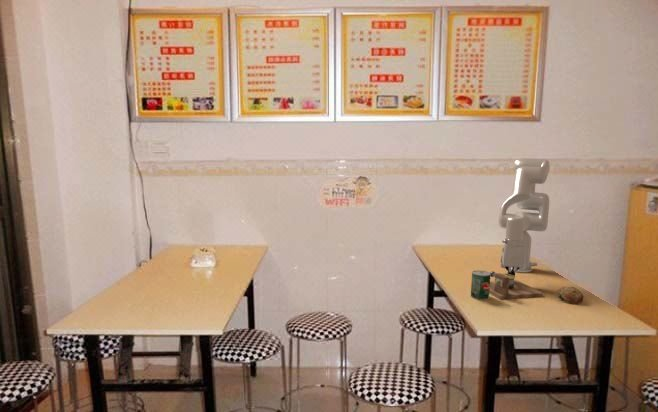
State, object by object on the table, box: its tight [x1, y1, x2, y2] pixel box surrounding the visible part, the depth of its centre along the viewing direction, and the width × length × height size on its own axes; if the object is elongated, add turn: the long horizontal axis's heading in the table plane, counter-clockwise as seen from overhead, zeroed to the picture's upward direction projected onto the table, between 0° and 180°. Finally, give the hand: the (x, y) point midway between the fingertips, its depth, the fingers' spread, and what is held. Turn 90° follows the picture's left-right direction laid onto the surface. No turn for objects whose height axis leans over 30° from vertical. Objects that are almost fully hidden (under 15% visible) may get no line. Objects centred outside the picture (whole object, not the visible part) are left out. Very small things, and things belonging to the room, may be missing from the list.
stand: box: [489, 272, 544, 300], centre depth 219 cm, size 22×20×10 cm
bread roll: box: [557, 286, 584, 305], centre depth 208 cm, size 10×10×8 cm
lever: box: [489, 271, 516, 289], centre depth 225 cm, size 16×6×5 cm, turn 16°
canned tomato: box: [470, 270, 491, 301], centre depth 210 cm, size 8×8×11 cm
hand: (510, 279), depth 229 cm, fingers closed
